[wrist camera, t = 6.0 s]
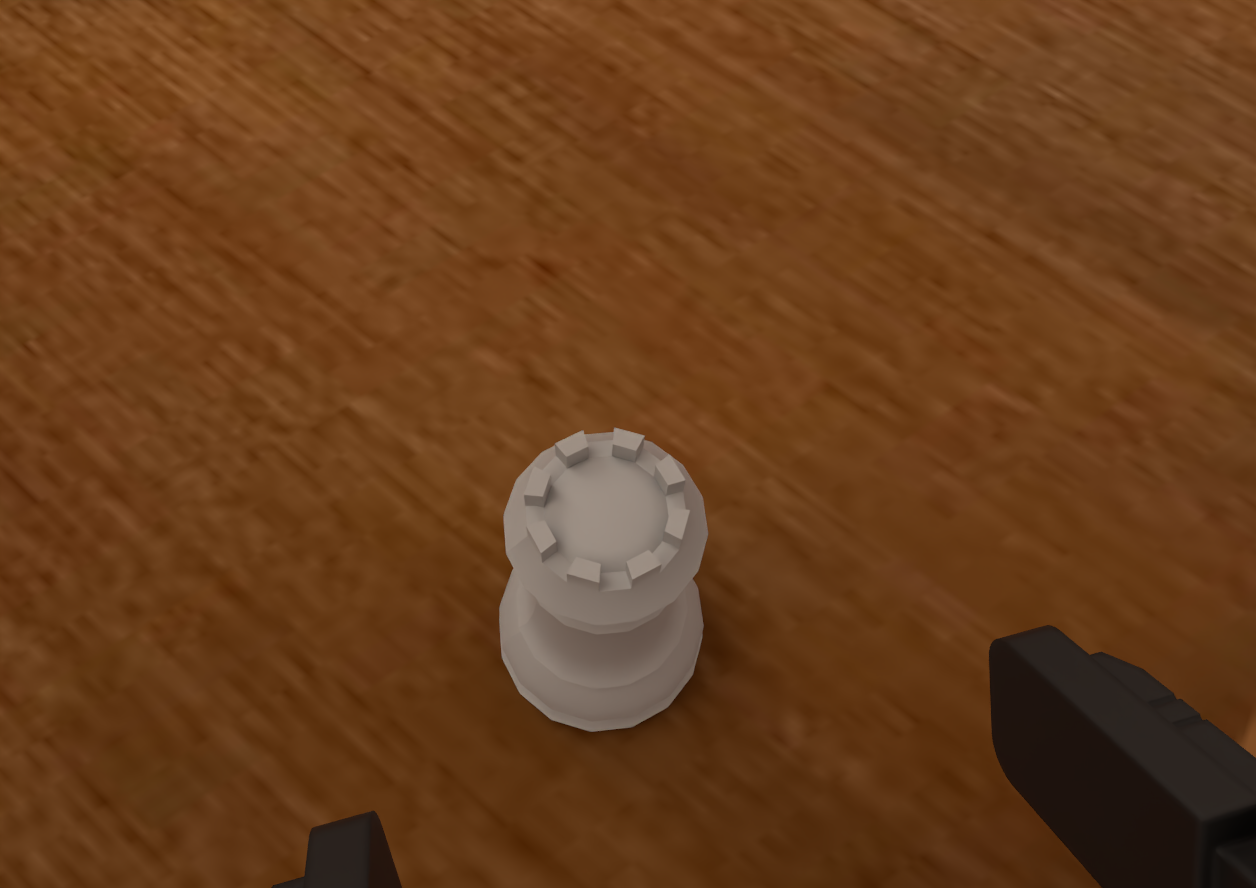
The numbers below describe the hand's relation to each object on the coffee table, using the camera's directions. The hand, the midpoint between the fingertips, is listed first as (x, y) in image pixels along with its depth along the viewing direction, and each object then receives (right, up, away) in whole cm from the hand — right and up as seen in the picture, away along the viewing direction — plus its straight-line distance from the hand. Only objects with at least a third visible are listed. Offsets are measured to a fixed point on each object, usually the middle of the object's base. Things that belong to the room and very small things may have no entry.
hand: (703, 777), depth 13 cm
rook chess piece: (-2, 0, +10) cm, 10 cm away
